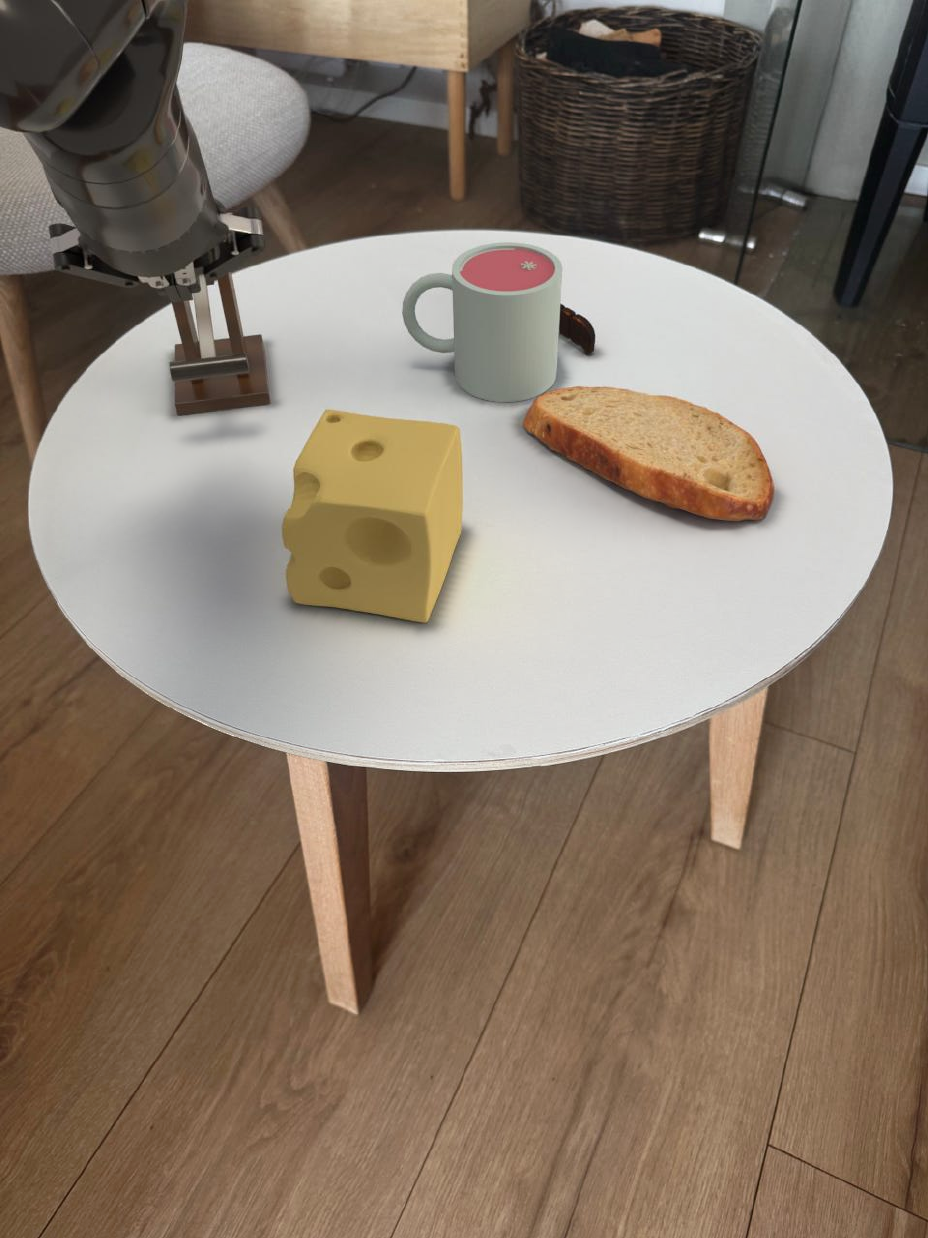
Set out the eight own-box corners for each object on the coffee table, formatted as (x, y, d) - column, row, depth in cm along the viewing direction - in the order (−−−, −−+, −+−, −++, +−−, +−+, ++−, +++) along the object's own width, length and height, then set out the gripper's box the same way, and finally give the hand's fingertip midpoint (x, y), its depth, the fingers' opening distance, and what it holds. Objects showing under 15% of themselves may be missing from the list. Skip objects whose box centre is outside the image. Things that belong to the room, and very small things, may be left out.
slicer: (270, 404, 87) (244, 264, 77) (177, 415, 86) (140, 275, 76) (263, 345, 93) (239, 210, 84) (177, 355, 92) (142, 220, 83)
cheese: (290, 606, 69) (267, 494, 62) (339, 509, 76) (323, 398, 69) (434, 630, 67) (428, 517, 60) (470, 528, 75) (468, 417, 67)
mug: (560, 348, 92) (566, 244, 85) (551, 405, 86) (557, 298, 78) (415, 339, 94) (409, 236, 86) (396, 394, 87) (388, 288, 80)
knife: (477, 286, 101) (477, 258, 98) (484, 283, 101) (484, 255, 99) (587, 356, 91) (590, 327, 89) (595, 353, 91) (598, 323, 89)
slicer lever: (251, 379, 80) (247, 362, 78) (175, 388, 79) (169, 372, 77) (233, 254, 83) (229, 235, 81) (161, 262, 83) (154, 242, 80)
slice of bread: (517, 406, 86) (518, 368, 83) (721, 391, 87) (729, 353, 84) (550, 543, 73) (553, 504, 71) (788, 525, 74) (799, 485, 72)
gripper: (250, 92, 51) (269, 223, 69) (-17, 112, 50) (71, 241, 67) (272, 236, 52) (285, 331, 69) (7, 261, 50) (89, 352, 67)
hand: (180, 286), depth 68 cm, fingers closed
